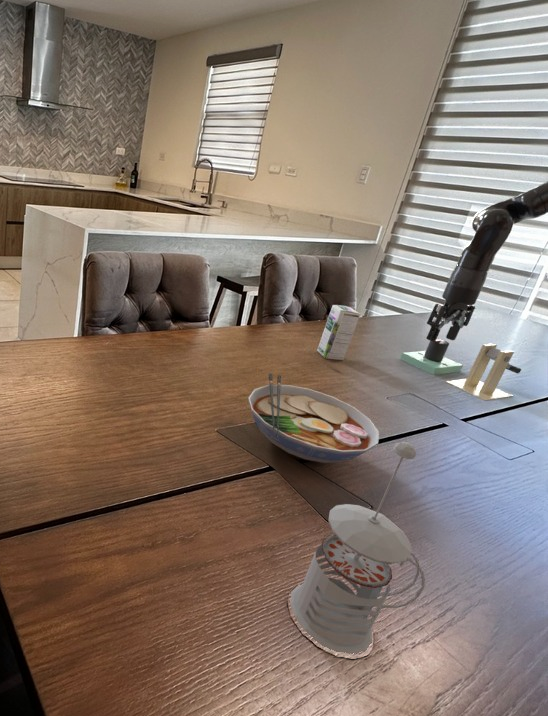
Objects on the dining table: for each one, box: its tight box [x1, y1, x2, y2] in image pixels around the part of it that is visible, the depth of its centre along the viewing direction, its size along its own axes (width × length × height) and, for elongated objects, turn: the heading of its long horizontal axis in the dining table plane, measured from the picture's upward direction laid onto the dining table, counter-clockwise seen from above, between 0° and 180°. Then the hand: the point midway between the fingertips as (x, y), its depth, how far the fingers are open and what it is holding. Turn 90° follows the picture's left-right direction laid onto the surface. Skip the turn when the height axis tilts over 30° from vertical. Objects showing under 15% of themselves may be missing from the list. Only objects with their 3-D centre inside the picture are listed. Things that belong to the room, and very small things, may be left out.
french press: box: [290, 441, 426, 654], centre depth 51 cm, size 10×12×25 cm
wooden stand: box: [444, 343, 515, 402], centre depth 121 cm, size 12×10×13 cm
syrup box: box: [316, 304, 361, 361], centre depth 133 cm, size 6×6×14 cm
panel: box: [400, 350, 464, 376], centre depth 135 cm, size 12×10×3 cm
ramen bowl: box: [248, 372, 380, 464], centre depth 88 cm, size 25×23×8 cm
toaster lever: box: [486, 347, 522, 375], centre depth 122 cm, size 12×5×2 cm, turn 113°
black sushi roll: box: [424, 338, 450, 362], centre depth 134 cm, size 4×4×6 cm
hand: (440, 339), depth 132 cm, fingers open, 8 cm apart
